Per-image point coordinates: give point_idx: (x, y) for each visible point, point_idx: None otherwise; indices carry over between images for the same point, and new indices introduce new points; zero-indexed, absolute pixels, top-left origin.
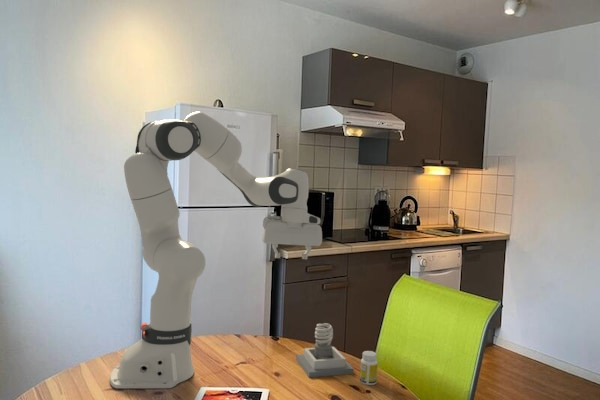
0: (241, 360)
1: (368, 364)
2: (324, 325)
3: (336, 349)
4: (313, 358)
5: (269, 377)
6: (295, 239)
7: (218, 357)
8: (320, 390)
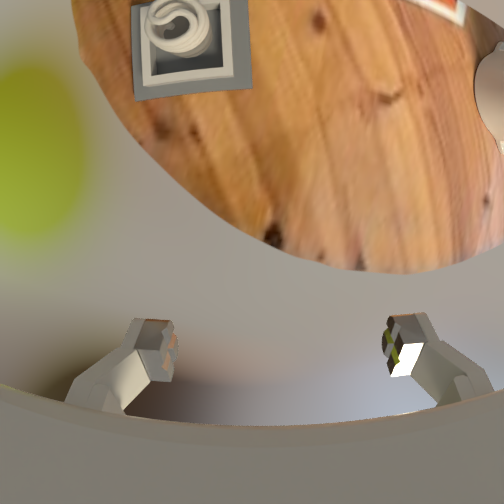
0: (387, 111)
1: None
2: (172, 11)
3: (142, 64)
4: (226, 10)
5: (339, 11)
6: (264, 491)
7: (429, 141)
8: None
